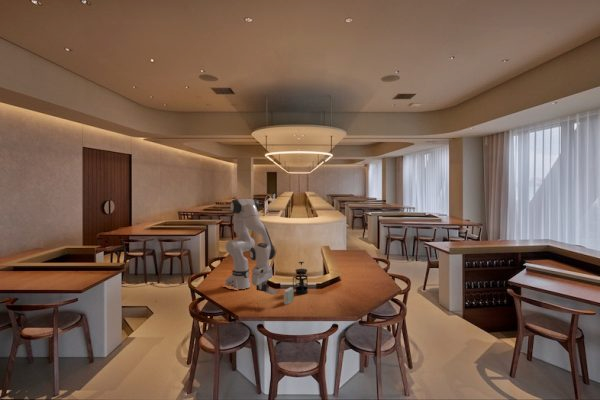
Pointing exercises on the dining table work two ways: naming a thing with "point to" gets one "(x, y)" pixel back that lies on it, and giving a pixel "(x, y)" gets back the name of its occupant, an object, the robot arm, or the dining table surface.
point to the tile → (288, 295)
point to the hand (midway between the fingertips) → (262, 287)
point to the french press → (301, 281)
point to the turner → (267, 289)
